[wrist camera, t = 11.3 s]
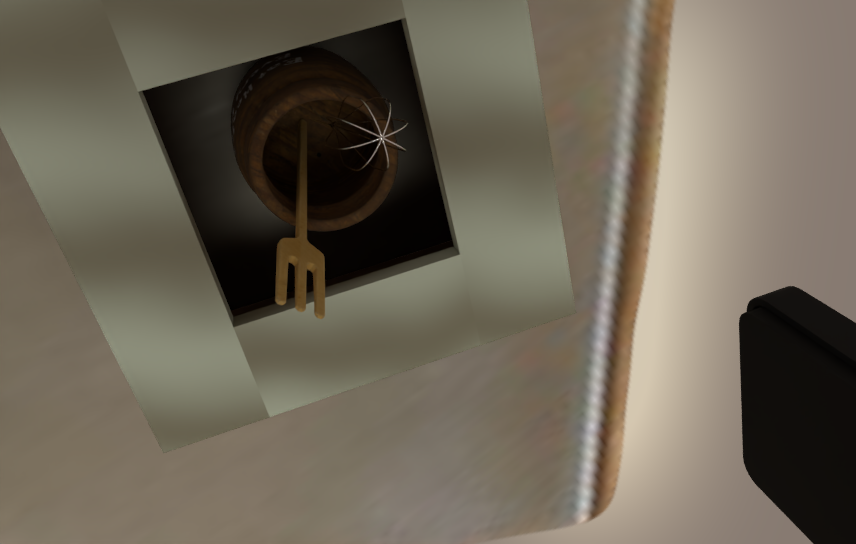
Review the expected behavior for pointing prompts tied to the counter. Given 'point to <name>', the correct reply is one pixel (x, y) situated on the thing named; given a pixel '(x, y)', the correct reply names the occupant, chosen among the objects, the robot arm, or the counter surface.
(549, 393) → the counter surface
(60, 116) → the drop box
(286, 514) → the counter surface
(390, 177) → the utensil holder
